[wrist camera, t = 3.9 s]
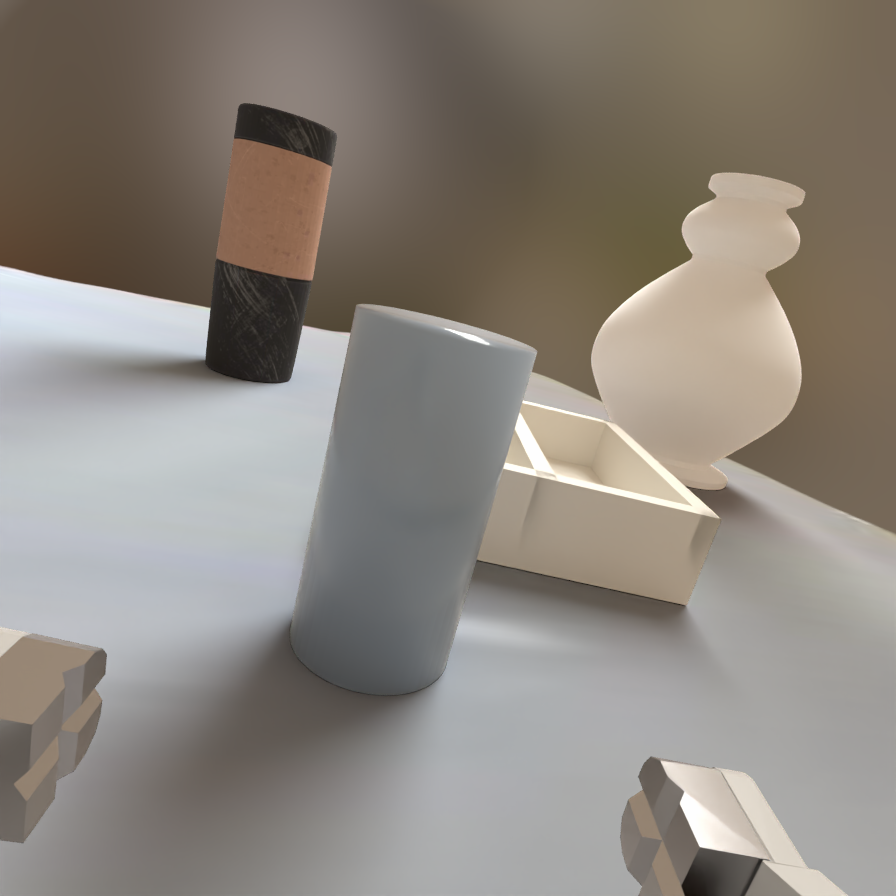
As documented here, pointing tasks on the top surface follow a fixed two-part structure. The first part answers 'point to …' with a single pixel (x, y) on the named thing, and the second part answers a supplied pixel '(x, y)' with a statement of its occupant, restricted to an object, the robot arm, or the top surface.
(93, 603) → the top surface
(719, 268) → the decorative vase
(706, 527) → the compartment tray
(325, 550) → the grey cylinder
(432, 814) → the top surface
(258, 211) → the travel mug
